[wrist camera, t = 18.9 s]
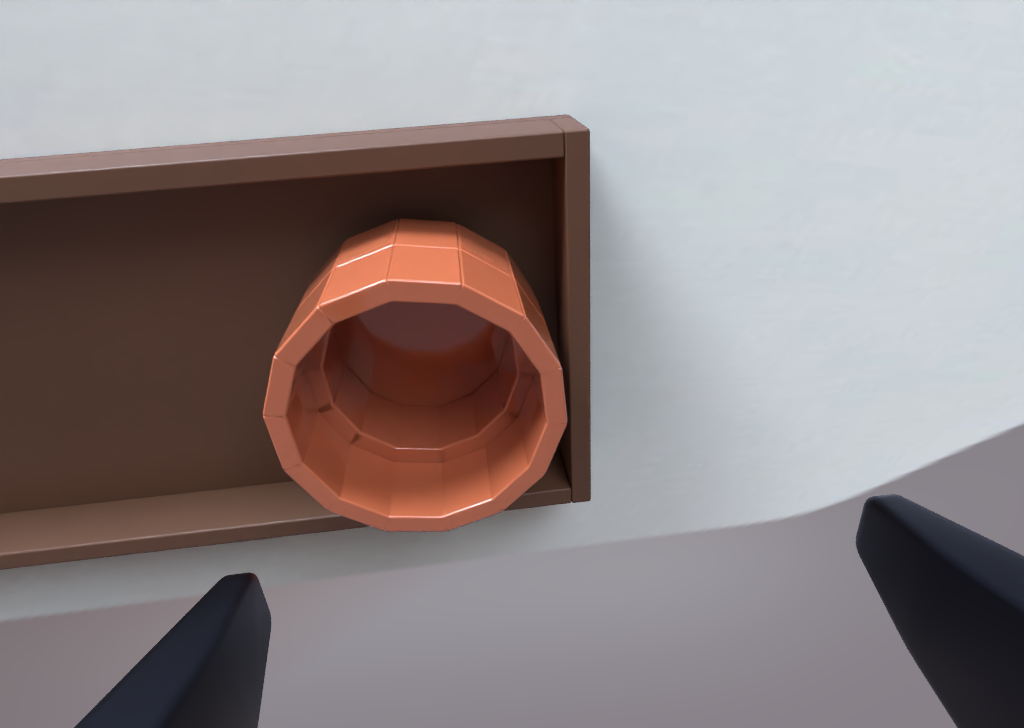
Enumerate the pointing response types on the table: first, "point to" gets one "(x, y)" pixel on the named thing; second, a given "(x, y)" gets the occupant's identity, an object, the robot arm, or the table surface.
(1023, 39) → the table surface
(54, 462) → the tray
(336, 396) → the terracotta flower pot
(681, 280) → the table surface
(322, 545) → the table surface
